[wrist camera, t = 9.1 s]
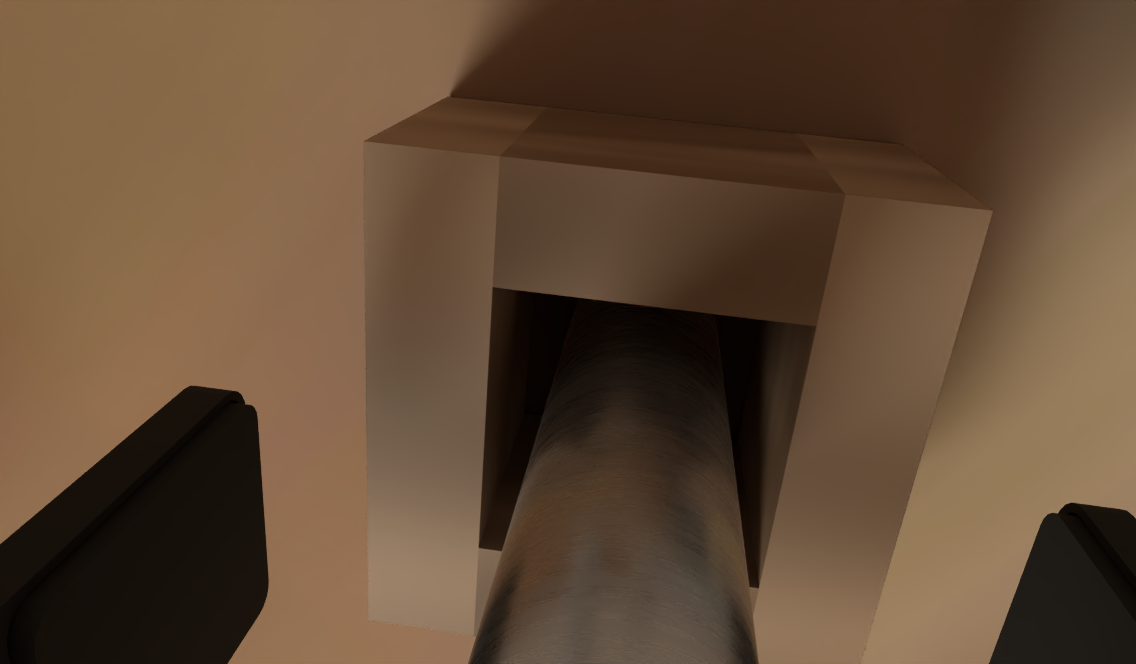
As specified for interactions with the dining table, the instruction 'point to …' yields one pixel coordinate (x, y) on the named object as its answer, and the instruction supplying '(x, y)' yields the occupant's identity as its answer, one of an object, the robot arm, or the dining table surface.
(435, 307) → the walnut block
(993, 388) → the dining table surface
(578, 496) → the steel pin
